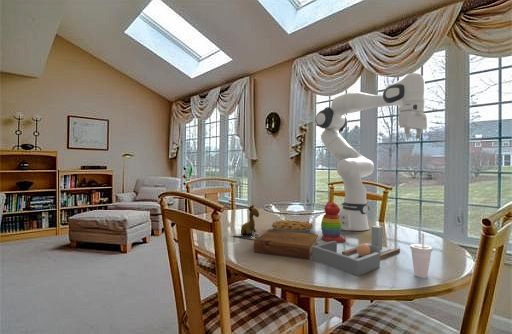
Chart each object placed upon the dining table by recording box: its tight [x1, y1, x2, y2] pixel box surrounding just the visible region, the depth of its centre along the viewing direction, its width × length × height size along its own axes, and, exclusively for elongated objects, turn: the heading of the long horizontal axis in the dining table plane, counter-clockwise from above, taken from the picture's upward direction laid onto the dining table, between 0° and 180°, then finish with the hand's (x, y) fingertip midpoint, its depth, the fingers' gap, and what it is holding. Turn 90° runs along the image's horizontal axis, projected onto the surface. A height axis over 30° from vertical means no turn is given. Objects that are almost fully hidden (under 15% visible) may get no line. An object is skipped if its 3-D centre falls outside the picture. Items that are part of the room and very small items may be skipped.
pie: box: [271, 219, 314, 234], centre depth 153 cm, size 22×22×5 cm
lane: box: [341, 241, 401, 261], centre depth 116 cm, size 12×22×2 cm, turn 126°
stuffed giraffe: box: [236, 204, 260, 240], centre depth 147 cm, size 16×18×16 cm
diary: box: [253, 229, 319, 260], centre depth 122 cm, size 23×19×6 cm
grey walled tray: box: [311, 241, 381, 277], centre depth 105 cm, size 20×13×5 cm, turn 36°
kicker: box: [364, 225, 392, 254], centre depth 118 cm, size 8×9×10 cm
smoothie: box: [409, 232, 433, 279], centre depth 94 cm, size 6×6×14 cm
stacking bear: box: [320, 201, 346, 243], centre depth 137 cm, size 11×10×18 cm
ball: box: [356, 243, 371, 257], centre depth 113 cm, size 5×5×5 cm
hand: (413, 138), depth 134 cm, fingers open, 8 cm apart
